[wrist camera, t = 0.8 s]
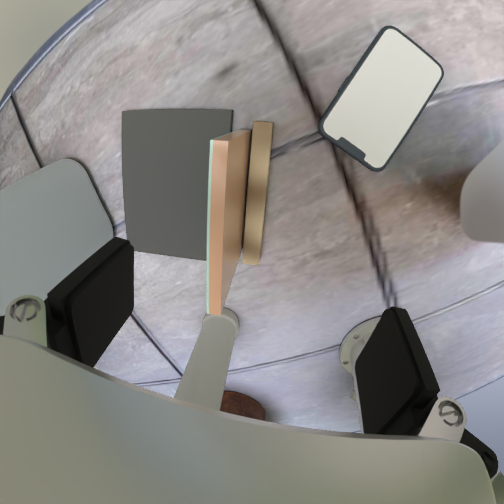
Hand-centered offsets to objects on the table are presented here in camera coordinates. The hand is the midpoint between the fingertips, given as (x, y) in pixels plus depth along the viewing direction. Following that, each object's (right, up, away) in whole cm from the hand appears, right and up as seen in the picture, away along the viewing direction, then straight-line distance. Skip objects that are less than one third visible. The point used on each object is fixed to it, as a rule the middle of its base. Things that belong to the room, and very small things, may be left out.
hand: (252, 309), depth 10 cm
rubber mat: (-9, +10, +24) cm, 27 cm away
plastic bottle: (-27, +7, +27) cm, 39 cm away
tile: (-2, +8, +22) cm, 24 cm away
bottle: (-4, -8, +32) cm, 33 cm away
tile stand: (+1, +9, +23) cm, 25 cm away
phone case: (+14, +19, +17) cm, 29 cm away
